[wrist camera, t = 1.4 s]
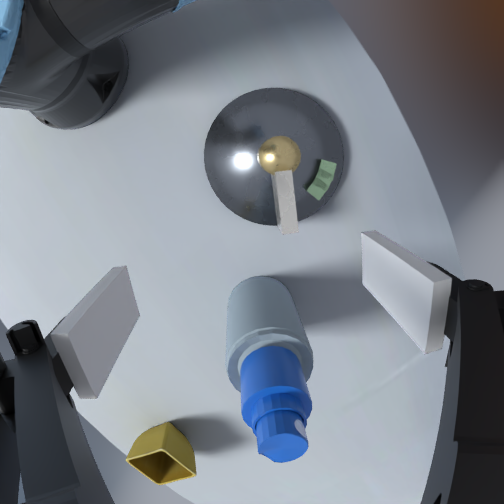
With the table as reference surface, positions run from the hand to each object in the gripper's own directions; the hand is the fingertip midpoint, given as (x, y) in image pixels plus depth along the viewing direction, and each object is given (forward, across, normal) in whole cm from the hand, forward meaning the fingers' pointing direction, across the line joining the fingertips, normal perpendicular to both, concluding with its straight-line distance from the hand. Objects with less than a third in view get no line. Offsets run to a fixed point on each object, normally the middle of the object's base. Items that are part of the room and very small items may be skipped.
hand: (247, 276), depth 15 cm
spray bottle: (+26, +1, -15) cm, 30 cm away
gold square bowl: (+26, -19, -38) cm, 50 cm away
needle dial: (+25, +5, +2) cm, 25 cm away
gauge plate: (+26, +5, +5) cm, 27 cm away
